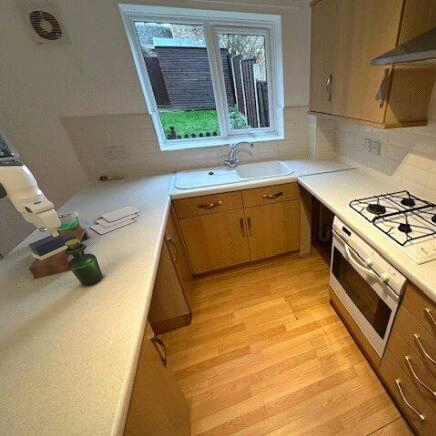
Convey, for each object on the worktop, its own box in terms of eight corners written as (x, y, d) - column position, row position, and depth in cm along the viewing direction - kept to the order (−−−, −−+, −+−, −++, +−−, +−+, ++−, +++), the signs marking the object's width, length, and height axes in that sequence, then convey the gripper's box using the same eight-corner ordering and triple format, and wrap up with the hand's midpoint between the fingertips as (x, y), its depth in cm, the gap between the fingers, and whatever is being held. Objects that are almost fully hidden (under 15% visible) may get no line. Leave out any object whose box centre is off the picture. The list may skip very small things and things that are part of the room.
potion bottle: (107, 280, 92) (87, 242, 84) (80, 291, 87) (57, 251, 79) (103, 270, 97) (84, 233, 89) (78, 280, 92) (56, 241, 84)
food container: (54, 240, 119) (44, 222, 114) (54, 235, 123) (45, 217, 118) (85, 231, 125) (76, 214, 121) (84, 227, 130) (76, 210, 125)
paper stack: (149, 215, 140) (149, 214, 140) (101, 234, 122) (100, 233, 122) (130, 206, 152) (129, 205, 152) (83, 222, 134) (82, 221, 134)
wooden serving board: (35, 278, 94) (28, 268, 92) (59, 242, 116) (54, 234, 114) (73, 269, 98) (67, 259, 96) (89, 236, 121) (85, 228, 118)
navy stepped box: (41, 260, 96) (33, 248, 93) (34, 257, 98) (26, 245, 95) (80, 242, 107) (74, 231, 104) (73, 239, 109) (67, 228, 106)
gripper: (7, 202, 94) (27, 232, 100) (34, 210, 86) (53, 242, 93) (28, 196, 99) (45, 225, 105) (55, 204, 91) (72, 234, 98)
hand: (49, 233), depth 99 cm, fingers open, 8 cm apart
